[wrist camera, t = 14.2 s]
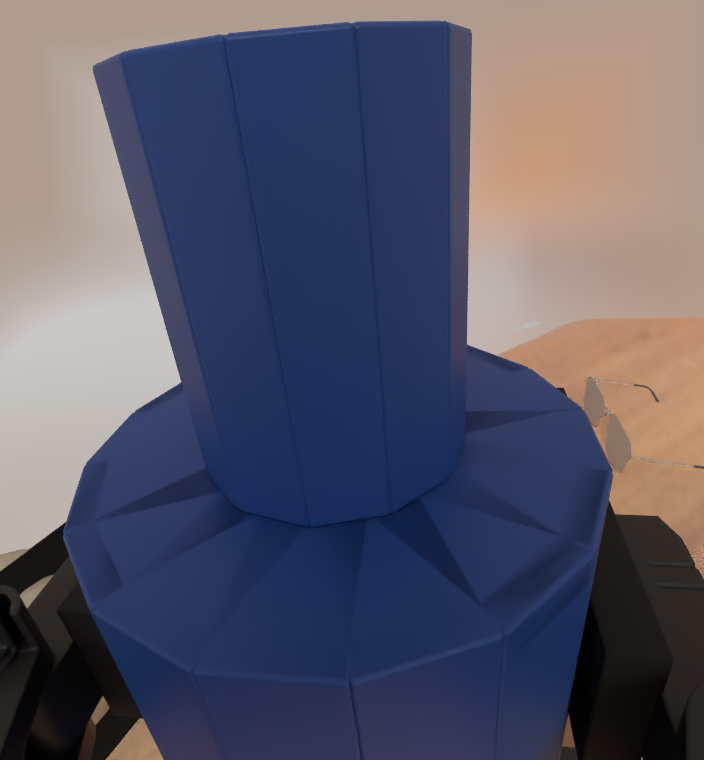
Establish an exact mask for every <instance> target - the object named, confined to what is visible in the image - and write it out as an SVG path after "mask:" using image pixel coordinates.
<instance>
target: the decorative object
mask: <svg viewBox="0 0 704 760" xmlns="http://www.w3.org/2000/svg"><path fill="white" fill-rule="evenodd" d="M65 524H66V523H64V524H63V525H62V526H60V527H59V528H58V529H56V530H55V531H53V532H52V533H51V534H49V535H48V536H47V537H46V538H44V539H43V540H41V541H40V542H39V543H37V544H36V545H35V546H33V547H32V548H29V549H24V550H18V551H14V552H9V553H6V554H3V555H0V585H6V586H9V587H11V588H14V589H16V590H17V592H18V594H19V595H20V597H21V599H22V601H23V602H24V604H25V606H26V607H27V608H28V607H29V605H30V604H31V603H32V602H33V600H34V599H35V598H36V597H37V595H38V594H39V593H40V592H41V590H42V589H43V588H44V587H45V585H46V584H47V583H48V582H49V580H50V579H51V578H52V577H53V575H54V574H55V573H56V572H57V570H58V569H59V568H60V567H61V565H62V564H63V563H64V562H65V560H66V559H67V558H68V557H69V553H68V550H67V548H66V545H65V542H64V539H63V535H64V533H63V530H64V527H65ZM91 718H92V720H93V722H94V724H95V726H96V734H95V744H94V748H93V753H92V757H91V760H105V759H106V758H107V757H108V756H109V755H110V753H111V752H112V751H113V750H114V748H115V747H116V746H117V745H118V744H119V742H120V741H121V740H122V739H123V737H124V736H125V735H126V734H127V733H128V731H129V730H130V729H131V728H132V727H133V725H134V724H135V723H136V722H137V720H138V719H139V718H135V717H127V716H118V715H113V713H112V711H111V709H110V708H109V706H108V704H107V702H106V700H105V699H104V697H103V696H102V698H101V700H100V702H99V704H98V705H97V707H96V709H95V711H94V713H93V714H92V716H91Z"/></svg>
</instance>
